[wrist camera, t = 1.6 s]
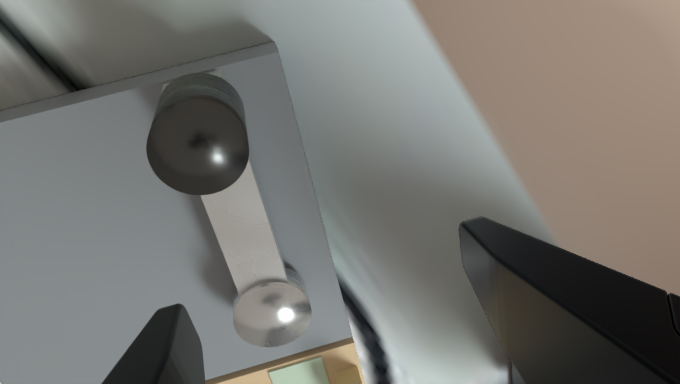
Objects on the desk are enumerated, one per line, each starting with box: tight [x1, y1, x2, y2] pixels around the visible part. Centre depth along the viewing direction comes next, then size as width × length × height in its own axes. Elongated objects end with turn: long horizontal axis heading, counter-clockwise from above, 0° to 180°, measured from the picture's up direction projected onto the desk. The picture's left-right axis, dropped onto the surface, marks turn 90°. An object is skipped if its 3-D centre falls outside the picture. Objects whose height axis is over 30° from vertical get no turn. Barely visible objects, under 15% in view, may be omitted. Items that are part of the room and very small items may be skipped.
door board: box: [0, 41, 365, 384], centre depth 23 cm, size 15×22×4 cm
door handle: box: [146, 70, 312, 347], centre depth 19 cm, size 12×3×4 cm, turn 11°
